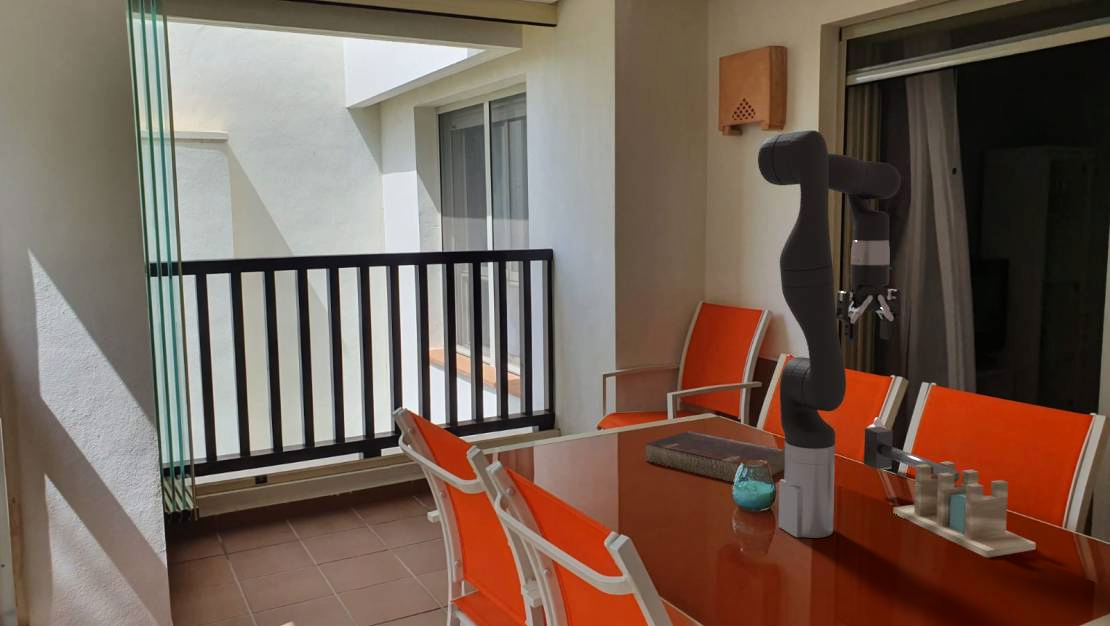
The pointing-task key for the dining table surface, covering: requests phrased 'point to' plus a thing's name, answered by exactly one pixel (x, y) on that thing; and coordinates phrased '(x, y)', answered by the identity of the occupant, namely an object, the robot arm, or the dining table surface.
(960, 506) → the block
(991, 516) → the bracket
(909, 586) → the dining table surface
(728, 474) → the hardback book
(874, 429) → the shaft
